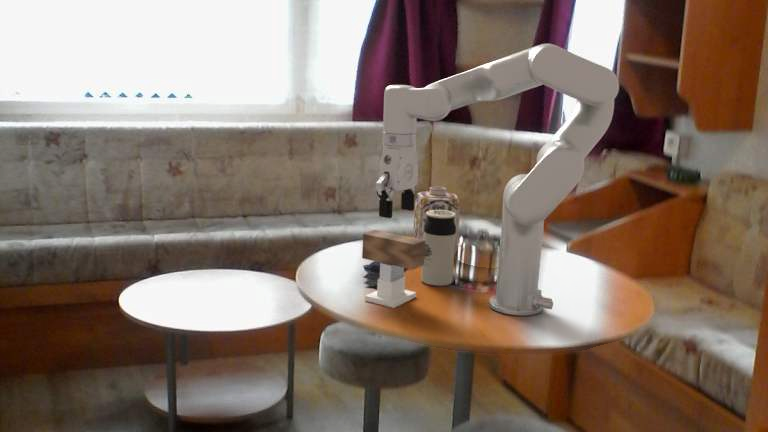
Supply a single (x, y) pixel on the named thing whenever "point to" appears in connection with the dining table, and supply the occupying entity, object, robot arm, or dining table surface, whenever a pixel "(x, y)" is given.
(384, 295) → the fulcrum stand
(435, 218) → the travel mug
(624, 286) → the dining table surface
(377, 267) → the decorative bat
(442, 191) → the decorative jar
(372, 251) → the wooden block
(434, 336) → the dining table surface
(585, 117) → the robot arm
